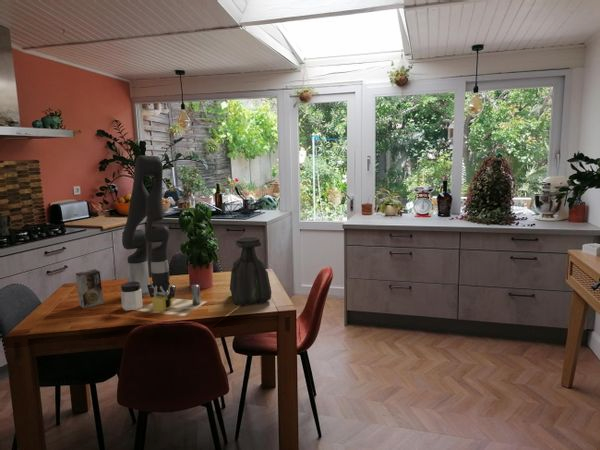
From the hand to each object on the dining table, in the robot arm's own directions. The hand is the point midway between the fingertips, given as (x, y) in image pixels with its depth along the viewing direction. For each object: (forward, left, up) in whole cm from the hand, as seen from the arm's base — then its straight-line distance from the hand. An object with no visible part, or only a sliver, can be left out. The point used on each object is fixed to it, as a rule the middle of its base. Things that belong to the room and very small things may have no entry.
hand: (163, 306), depth 194 cm
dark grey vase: (+33, +23, -2) cm, 40 cm away
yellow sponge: (0, 0, -1) cm, 1 cm away
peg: (+12, +9, -1) cm, 15 cm away
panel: (+2, +4, -2) cm, 5 cm away
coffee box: (-39, -2, -2) cm, 39 cm away
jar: (-15, -2, -2) cm, 15 cm away
